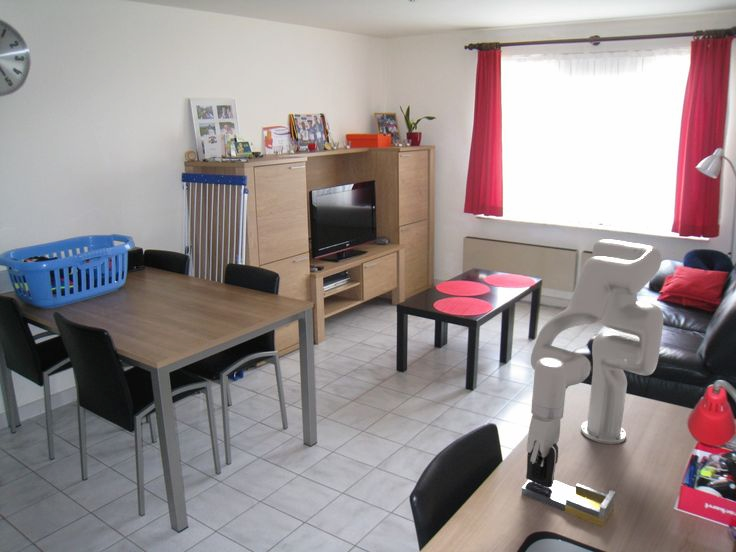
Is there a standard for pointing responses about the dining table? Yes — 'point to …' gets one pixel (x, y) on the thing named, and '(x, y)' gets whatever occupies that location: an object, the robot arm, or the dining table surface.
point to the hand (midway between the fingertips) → (541, 473)
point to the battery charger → (550, 467)
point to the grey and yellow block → (573, 500)
